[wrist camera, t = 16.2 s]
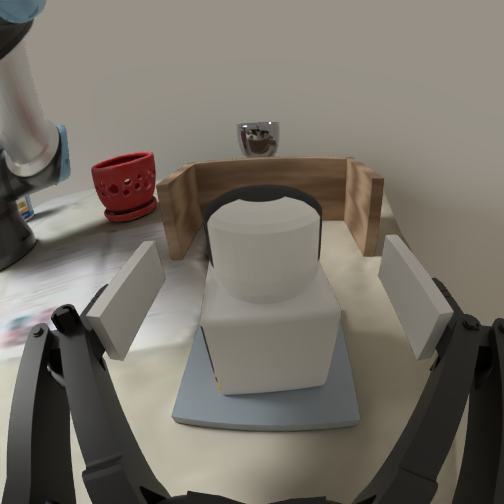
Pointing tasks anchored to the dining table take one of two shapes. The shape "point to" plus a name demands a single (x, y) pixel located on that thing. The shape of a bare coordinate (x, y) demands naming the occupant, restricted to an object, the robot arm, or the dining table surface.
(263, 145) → the wine glass
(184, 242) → the walnut bay
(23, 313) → the dining table surface
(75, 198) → the dining table surface
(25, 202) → the beverage bottle
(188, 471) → the dining table surface
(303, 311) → the medicine bottle
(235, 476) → the dining table surface
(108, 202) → the plant pot
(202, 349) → the grey pad
